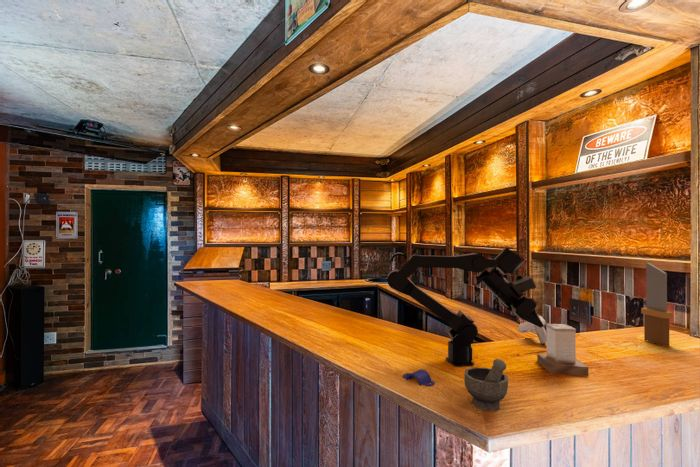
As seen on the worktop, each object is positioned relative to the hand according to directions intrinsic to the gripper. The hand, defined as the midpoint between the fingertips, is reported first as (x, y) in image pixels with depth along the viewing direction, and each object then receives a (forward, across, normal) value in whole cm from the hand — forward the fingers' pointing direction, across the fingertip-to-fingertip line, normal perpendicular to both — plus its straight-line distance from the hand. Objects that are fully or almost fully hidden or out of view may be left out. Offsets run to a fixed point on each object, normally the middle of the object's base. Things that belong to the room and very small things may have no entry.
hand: (536, 322), depth 106 cm
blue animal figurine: (-15, -16, +35) cm, 42 cm away
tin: (+13, 0, +3) cm, 13 cm away
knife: (+48, +33, -30) cm, 65 cm away
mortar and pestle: (-5, -28, +24) cm, 38 cm away
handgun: (+17, +32, +2) cm, 36 cm away
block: (+15, 0, +5) cm, 16 cm away
